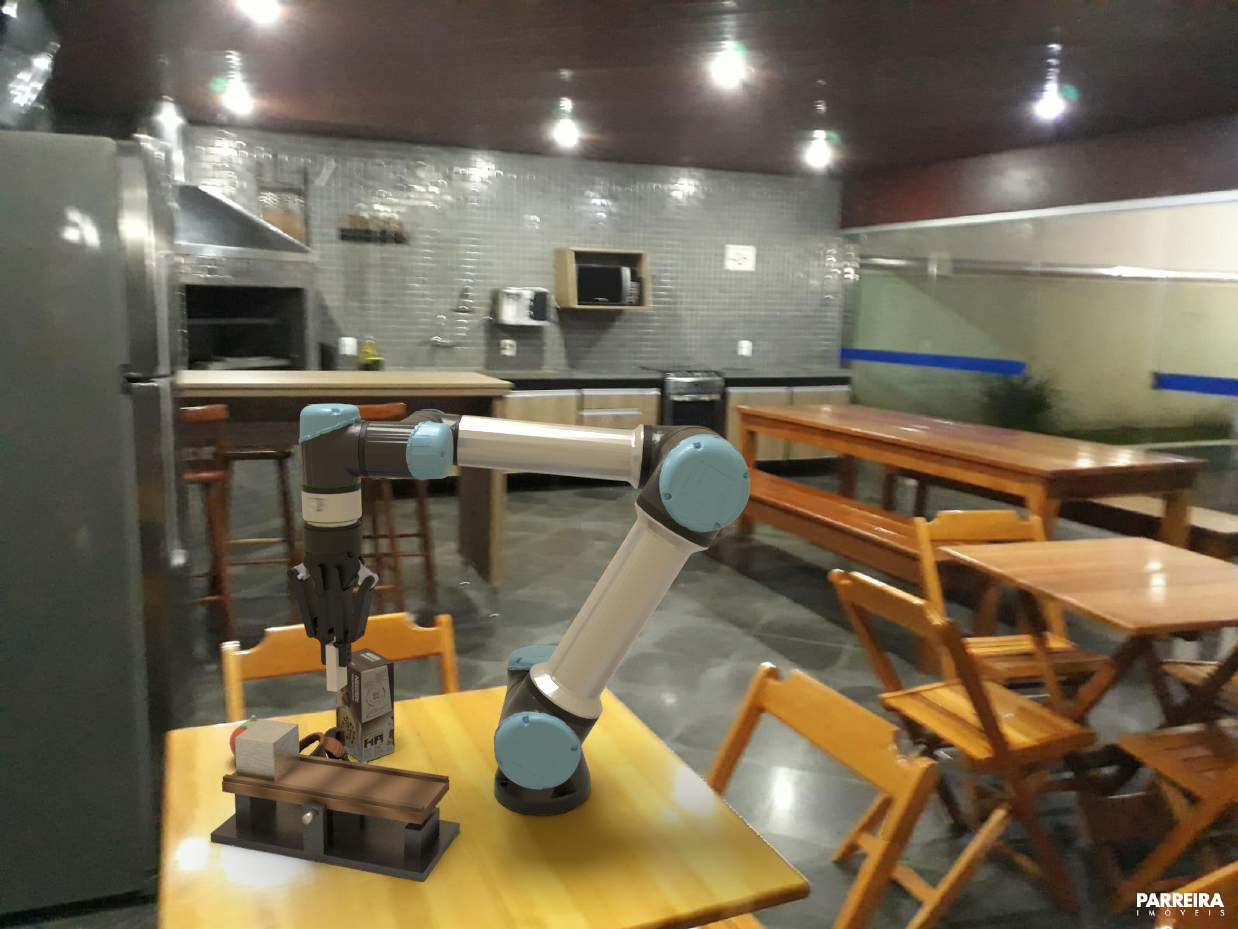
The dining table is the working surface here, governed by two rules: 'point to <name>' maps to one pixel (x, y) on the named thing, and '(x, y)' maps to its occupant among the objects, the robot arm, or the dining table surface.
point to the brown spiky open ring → (326, 744)
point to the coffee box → (367, 706)
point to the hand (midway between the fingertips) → (337, 687)
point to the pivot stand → (338, 836)
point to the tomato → (240, 730)
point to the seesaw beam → (350, 788)
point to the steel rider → (267, 750)
